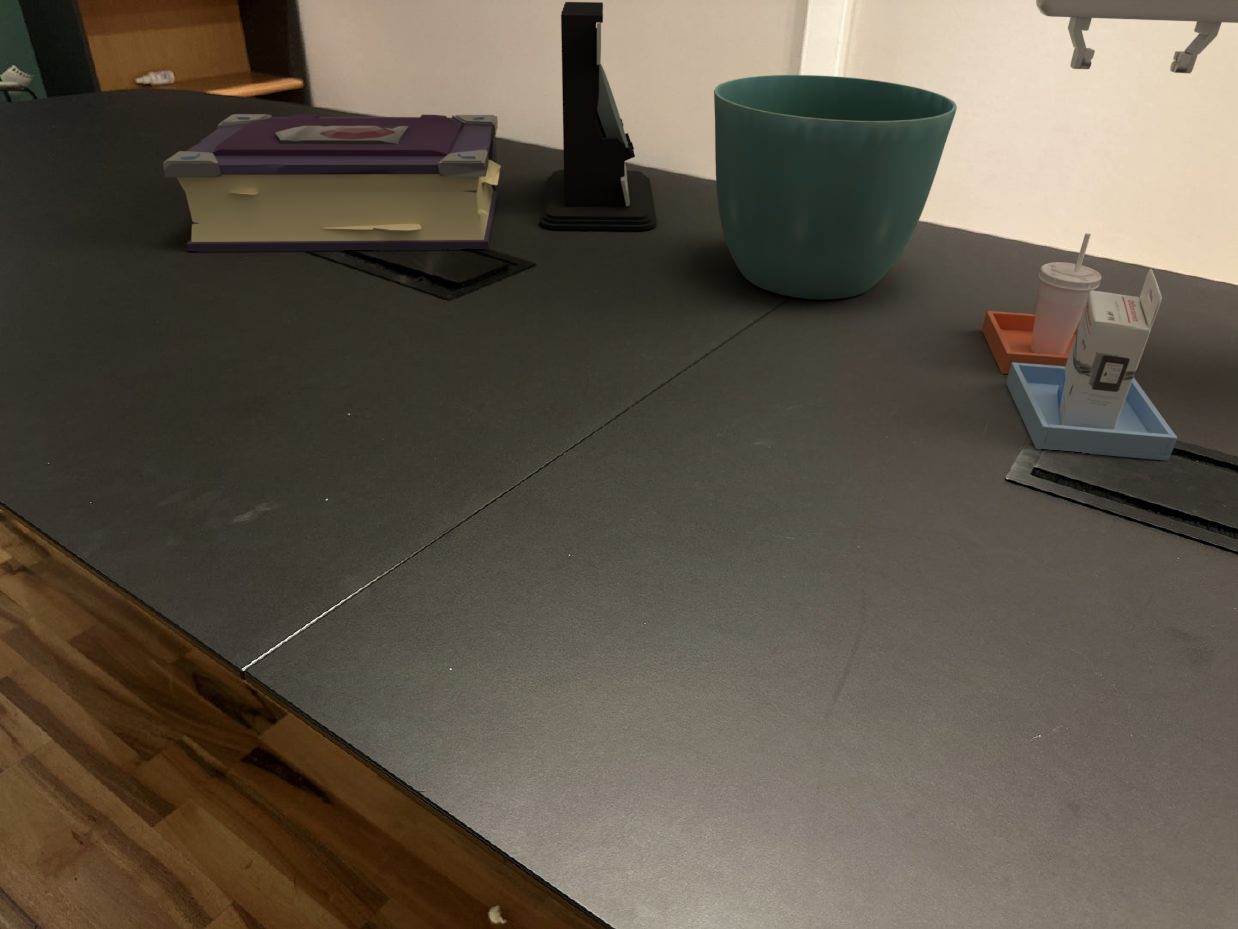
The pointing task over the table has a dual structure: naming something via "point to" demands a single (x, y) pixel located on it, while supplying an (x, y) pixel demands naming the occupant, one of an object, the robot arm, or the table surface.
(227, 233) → the book
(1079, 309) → the smoothie
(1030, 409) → the blue tray
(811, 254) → the flower pot
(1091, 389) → the ink box
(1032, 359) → the terracotta tray
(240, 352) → the table surface
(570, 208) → the award
